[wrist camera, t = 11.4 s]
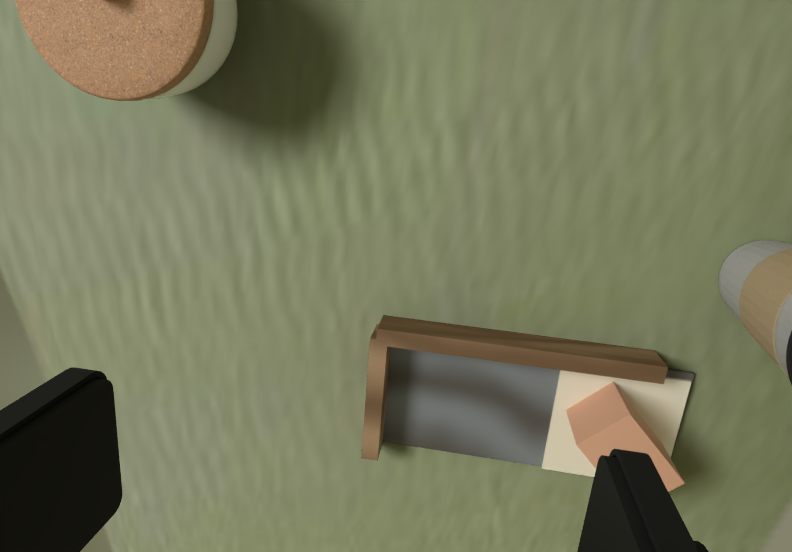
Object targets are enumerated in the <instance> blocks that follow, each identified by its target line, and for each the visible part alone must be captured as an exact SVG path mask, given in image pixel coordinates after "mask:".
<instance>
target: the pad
mask: <svg viewBox="0 0 792 552" xmlns="http://www.w3.org/2000/svg"><path fill="white" fill-rule="evenodd" d="M611 382H614V383H615V384H616V386H617V387H618V388H619V389H620V391H621V392H622V393H623V395H624V396H625V397H626V398H627V400H628V401H629V402H630V403H631V405H632V406H633V407H634V408H635V410H636V411H637V412H638V413H639V415H640V416H641V417H642V419H643V420H644V421H645V422H646V424H647V425H648V426H649V427H650V429H651V430H652V431H653V432H654V434H655V435H656V436H657V437H658V439H659V440H660V441H661V442H662V444H663V446H664V447H665V449H666V451H667V453H668V454H669V456H670V458H671V455H672V451H673V448H674V444H675V440H676V437H677V433H678V429H679V426H680V422H681V418H682V415H683V411H684V408H685V404H686V400H687V397H688V393H689V389H690V386H691V381H690V380H684V379H677V378H670V377H665V381H664V384H658V383H651V382H643V381H636V380H629V379H621V378H614V377H607V376H599V375H592V374H585V373H577V372H570V371H563V370H560V374H559V379H558V385H557V390H556V395H555V400H554V405H553V411H552V416H551V421H550V426H549V432H548V437H547V442H546V447H545V452H544V458H543V463H542V469H548V470H554V471H561V472H567V473H573V474H580V475H586V476H592V477H594V476H595V472H596V468H595V467H594V466H593V465H592V463H591V462H590V461H589V460H588V459H587V457H586V456H585V455H584V454H583V452H582V451H581V450H580V449H579V448H578V446H577V445H576V442H575V439H574V436H573V432H572V429H571V426H570V422H569V419H568V416H567V413H566V409H568V408H570V407H571V406H573V405H575V404H576V403H578V402H580V401H581V400H583V399H585V398H586V397H588V396H590V395H591V394H593V393H595V392H596V391H598V390H600V389H601V388H603V387H605V386H606V385H608V384H610V383H611Z"/></svg>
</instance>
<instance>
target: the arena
mask: <svg viewBox="0 0 792 552" xmlns="http://www.w3.org/2000/svg"><path fill="white" fill-rule="evenodd" d="M560 370H563V371H570V372H577V373H585V374H592V375H599V376H607V377H614V378H621V379H629V380H636V381H643V382H651V383H658V384H664V381H665V377H670V378H677V379H684V380H690V381H691V385H692V381H693V378H694V373H693V372H688V371H681V370H673V369H668V367H667V365H666V364H665V363H664V362H663V360H662V359H661V358H660V356H659V355H658V354H657V352H656V351H654V350H646V349H638V348H631V347H623V346H615V345H608V344H600V343H592V342H585V341H577V340H569V339H561V338H554V337H546V336H538V335H531V334H523V333H515V332H508V331H500V330H492V329H485V328H477V327H469V326H462V325H454V324H446V323H439V322H431V321H423V320H416V319H408V318H400V317H393V316H385V315H383V317H382V319H381V322H380V324H379V325H376V327H375V329H374V331H373V334H372V336H371V338H370V348H369V361H368V375H367V389H366V402H365V416H364V430H363V444H362V457H361V458H364V459H370V460H377V461H378V457H379V454H380V450H381V447H382V443H383V442H390V443H396V444H402V445H409V446H415V447H421V448H428V449H434V450H441V451H447V452H453V453H460V454H466V455H472V456H479V457H485V458H491V459H498V460H504V461H510V462H517V463H523V464H529V465H536V466H542V463H543V458H544V452H545V447H546V442H547V437H548V432H549V426H550V421H551V416H552V411H553V405H554V400H555V395H556V390H557V385H558V379H559V374H560ZM690 389H691V386H690ZM690 389H689V392H690ZM688 396H689V393H688ZM687 400H688V397H687ZM687 400H686V403H687ZM685 407H686V404H685ZM684 410H685V408H684ZM683 414H684V411H683ZM682 418H683V415H682ZM682 418H681V421H682ZM680 425H681V422H680ZM679 429H680V426H679ZM679 429H678V432H679ZM677 436H678V433H677ZM676 439H677V437H676ZM675 443H676V440H675ZM674 447H675V444H674ZM673 450H674V448H673ZM672 454H673V451H672ZM671 458H672V455H671Z"/></svg>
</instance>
